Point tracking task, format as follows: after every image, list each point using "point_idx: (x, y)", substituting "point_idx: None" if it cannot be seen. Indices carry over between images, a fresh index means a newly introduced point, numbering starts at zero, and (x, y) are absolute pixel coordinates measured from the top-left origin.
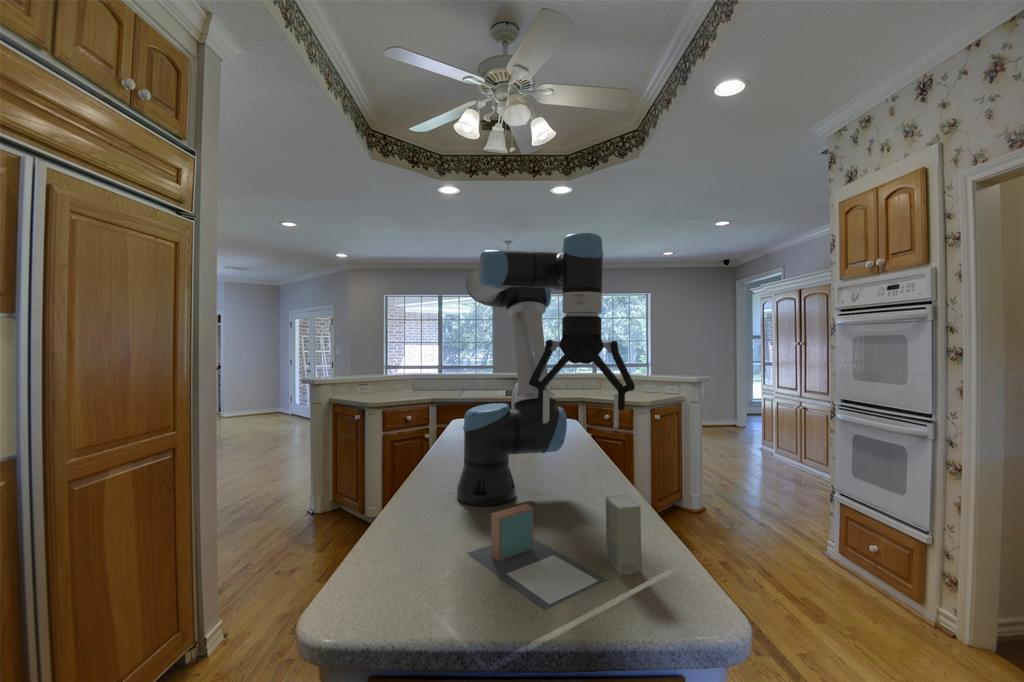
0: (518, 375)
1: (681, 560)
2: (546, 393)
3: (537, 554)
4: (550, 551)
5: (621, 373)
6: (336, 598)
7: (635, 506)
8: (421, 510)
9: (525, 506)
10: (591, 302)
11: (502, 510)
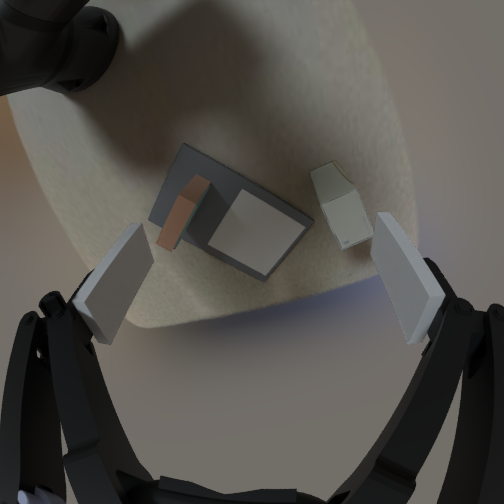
0: None
1: (398, 145)
2: (114, 334)
3: (221, 193)
4: (234, 179)
5: (461, 414)
6: None
7: (367, 237)
8: (46, 141)
9: (184, 204)
10: None
11: (162, 230)
